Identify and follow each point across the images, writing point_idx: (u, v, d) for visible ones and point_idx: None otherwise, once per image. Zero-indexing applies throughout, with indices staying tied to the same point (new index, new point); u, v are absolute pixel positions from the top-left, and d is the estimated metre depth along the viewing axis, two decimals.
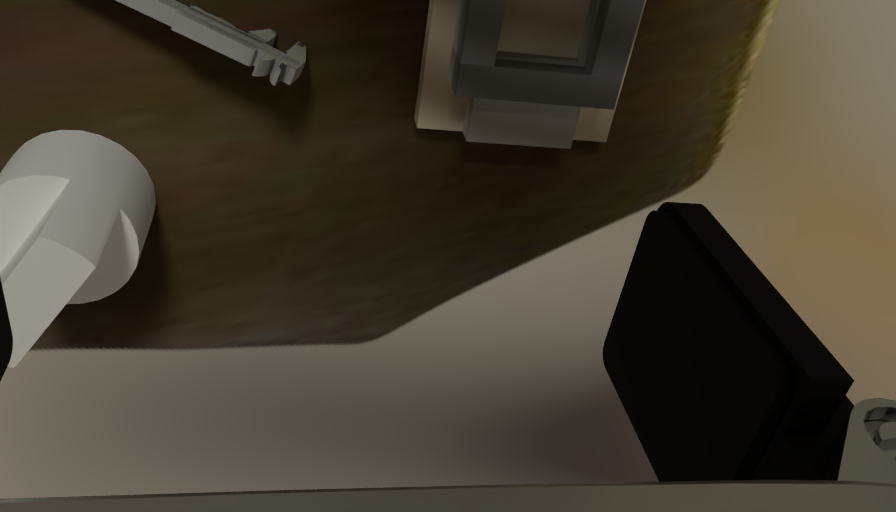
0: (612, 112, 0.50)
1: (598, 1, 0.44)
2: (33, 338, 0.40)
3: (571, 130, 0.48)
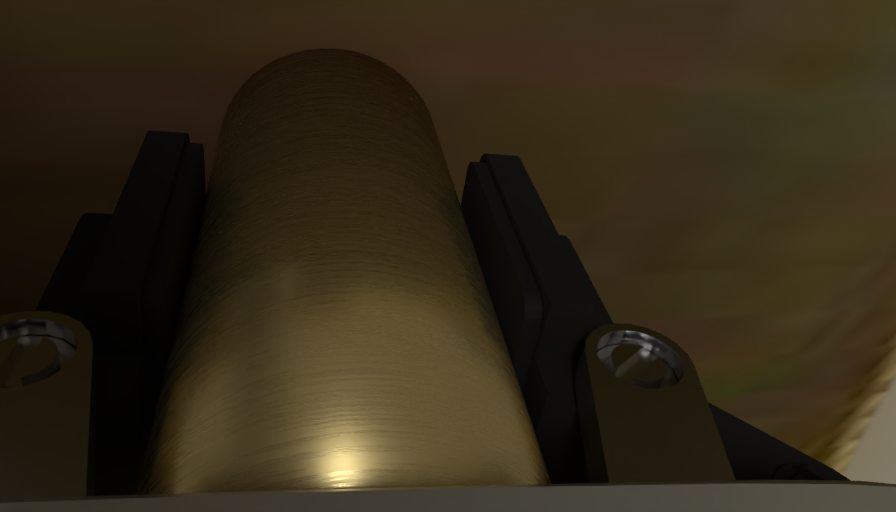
0: None
1: None
2: None
3: None
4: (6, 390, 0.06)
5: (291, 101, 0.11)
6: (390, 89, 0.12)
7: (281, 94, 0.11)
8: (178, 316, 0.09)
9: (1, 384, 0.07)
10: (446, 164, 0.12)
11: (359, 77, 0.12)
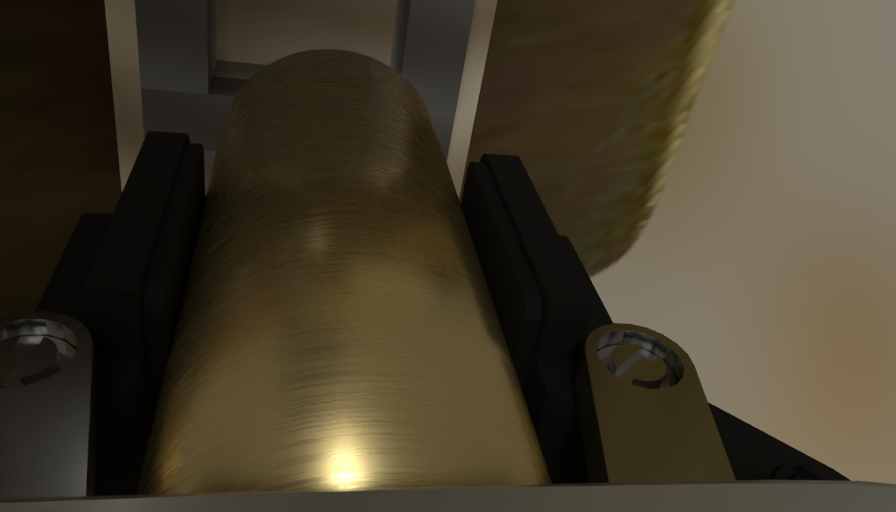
0: (462, 164, 0.30)
1: None
2: None
3: None
4: (6, 390, 0.06)
5: (291, 101, 0.11)
6: (391, 89, 0.12)
7: (282, 95, 0.11)
8: (178, 317, 0.09)
9: (1, 384, 0.07)
10: (447, 165, 0.12)
11: (360, 78, 0.12)
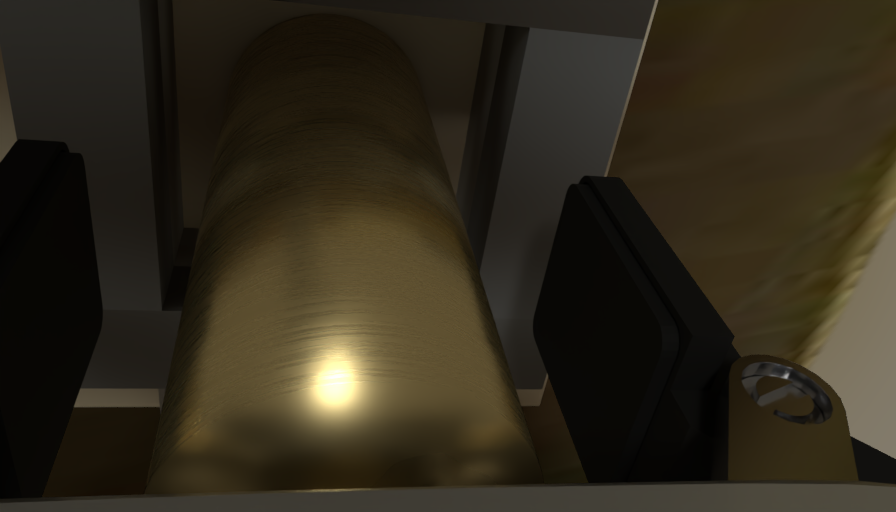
0: None
1: (486, 106, 0.15)
2: None
3: None
4: None
5: (292, 57, 0.13)
6: (380, 49, 0.14)
7: (284, 53, 0.13)
8: (198, 234, 0.10)
9: None
10: (430, 116, 0.14)
11: (353, 39, 0.14)
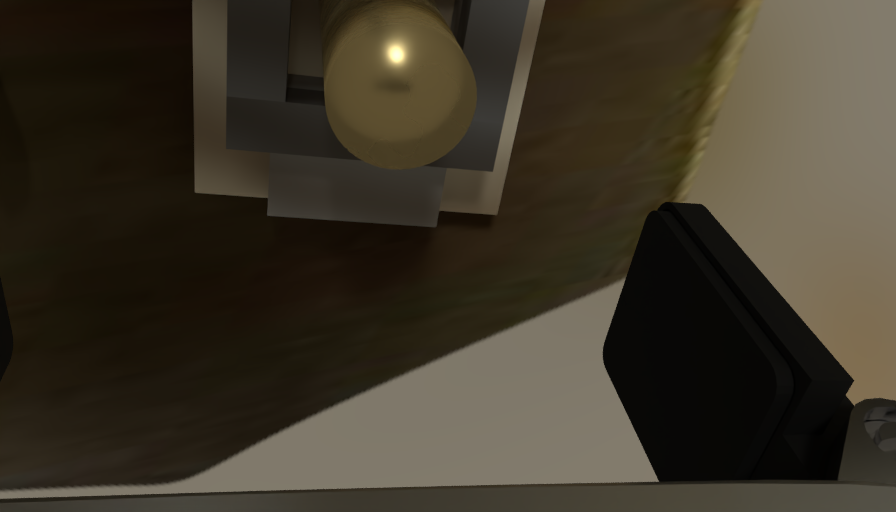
0: (503, 171, 0.33)
1: None
2: None
3: (434, 199, 0.31)
4: None
5: None
6: None
7: None
8: (327, 22, 0.22)
9: None
10: None
11: None
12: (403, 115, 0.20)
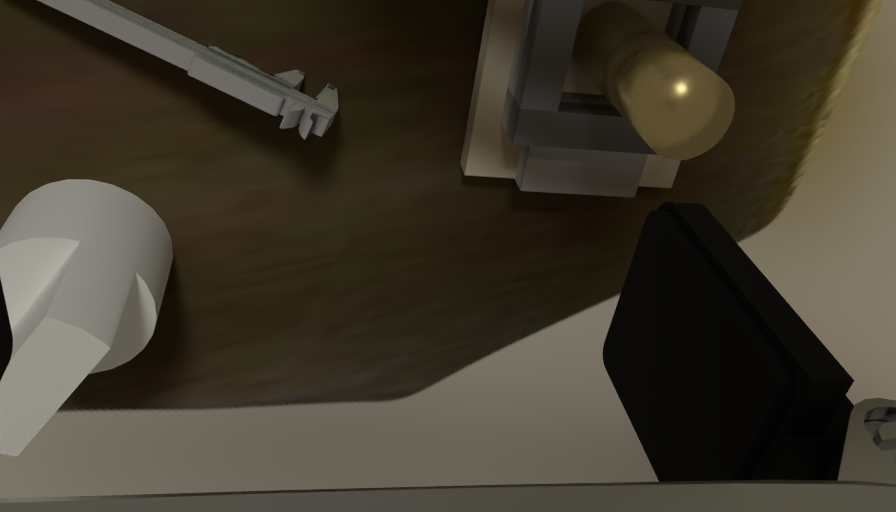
0: None
1: (673, 37, 0.39)
2: (38, 425, 0.35)
3: (636, 177, 0.43)
4: None
5: (620, 15, 0.37)
6: (641, 15, 0.38)
7: (614, 14, 0.37)
8: (617, 63, 0.35)
9: None
10: None
11: (633, 10, 0.38)
12: (688, 126, 0.32)
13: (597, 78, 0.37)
